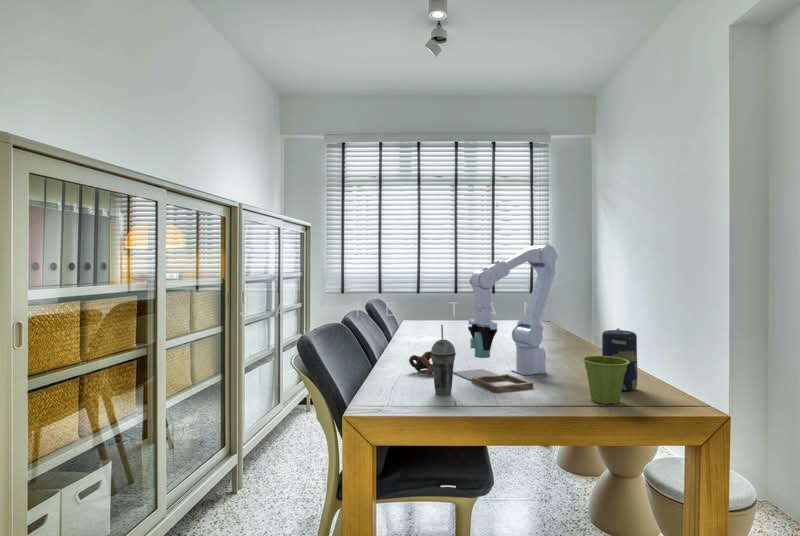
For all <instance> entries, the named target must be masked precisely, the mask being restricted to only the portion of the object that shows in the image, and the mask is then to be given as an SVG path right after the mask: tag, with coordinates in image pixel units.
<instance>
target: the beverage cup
mask: <svg viewBox="0 0 800 536" xmlns="http://www.w3.org/2000/svg"><path fill="white" fill-rule="evenodd" d="M440 327H441V328H440V329H441V330H440V332H441V333H440V334H441V335H440V336H441V339H438V340H436V341H435V342H434V344H433V345H432V347H431V350H430V351H431V358H430V359H431V361H432V363H431V364H433V374H432V375H433V383H434V384H433V385H434V392H435V395H437V396H440V397H441V396H442V397H444V396H445V397H447V396H451V395H452V389H453V376H454V374H453V372H454V366H455V361H456V360H455V359H456V355H457V353H456V348H455V346H454V345H453V343H452V342H450V341H449V340H448V339H444V325H443V324H441V325H440Z"/></svg>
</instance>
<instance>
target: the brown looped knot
mask: <svg viewBox="0 0 800 536" xmlns="http://www.w3.org/2000/svg"><path fill="white" fill-rule="evenodd" d="M430 359H431V350H430V351H425V352H424V353H423V354H422V355H421V356H419V355H415V354H413V355H411V356H410V357H409V359H408V362H409V364H410V366H411V367H413V368H414V370H416V372H420V371H421V370H427V371H426V375H428V376H430V377H431V376H432V375H434V374H433V363H431V362H430ZM415 362H416V363H415Z"/></svg>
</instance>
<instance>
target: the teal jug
mask: <svg viewBox="0 0 800 536" xmlns="http://www.w3.org/2000/svg"><path fill="white" fill-rule="evenodd" d="M469 340H470V346H469V347H470V349H474V357H475V358H477V359H489V358H491V349H490V350H487V351H485V350H484V349H483V341H482V336H481V333H480V331H476V332H475V338H472V337H471V338H470V339H469Z"/></svg>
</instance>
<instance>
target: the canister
mask: <svg viewBox="0 0 800 536" xmlns="http://www.w3.org/2000/svg"><path fill="white" fill-rule="evenodd" d="M601 341H602V342H601V343H602V344H601V350H602V351H601V356H610V357H617V358H622V359H626V360H628V361H629V362H630V363H629V364H627V369H626V372H625V375H624V381H623V386H622V391H632V390H635V389H636V388H637V387H638V336H637V333H635V331H634V332H633V331H630V330H621V329H620V328H619V327H618V328H616V329H609V330H605V331H603V332H602V335H601Z"/></svg>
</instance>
